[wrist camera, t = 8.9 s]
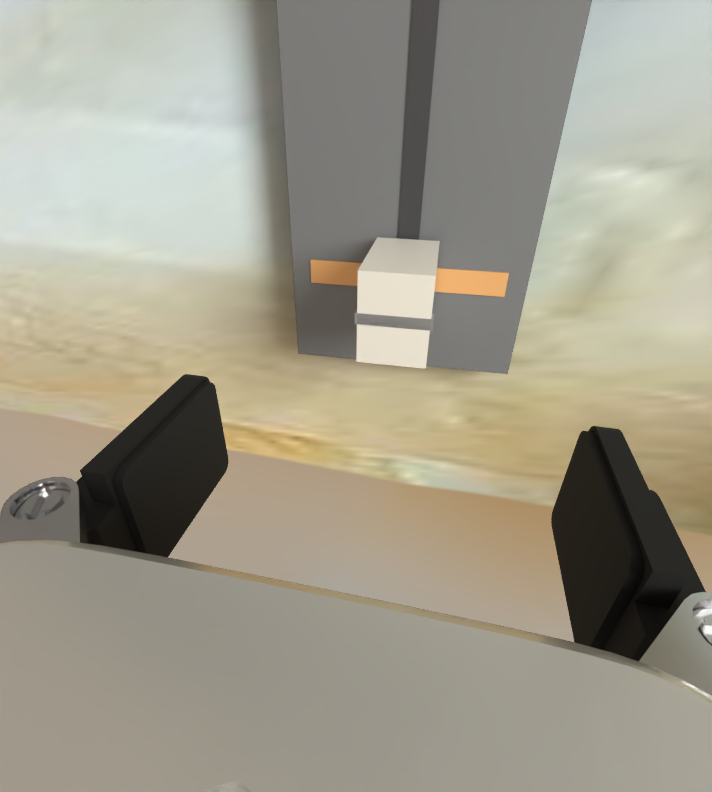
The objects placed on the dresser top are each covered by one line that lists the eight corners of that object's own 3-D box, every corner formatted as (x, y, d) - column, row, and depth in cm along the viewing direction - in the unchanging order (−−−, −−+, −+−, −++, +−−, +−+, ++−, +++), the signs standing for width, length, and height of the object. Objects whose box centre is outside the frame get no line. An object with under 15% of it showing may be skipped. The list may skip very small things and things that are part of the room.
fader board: (656, -347, 14) (685, -415, 12) (504, 357, 27) (507, 374, 25) (276, -302, 15) (253, -354, 14) (307, 339, 28) (297, 354, 27)
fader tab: (441, 241, 21) (438, 276, 17) (432, 319, 24) (428, 368, 19) (375, 237, 22) (355, 270, 17) (372, 314, 24) (354, 361, 20)
